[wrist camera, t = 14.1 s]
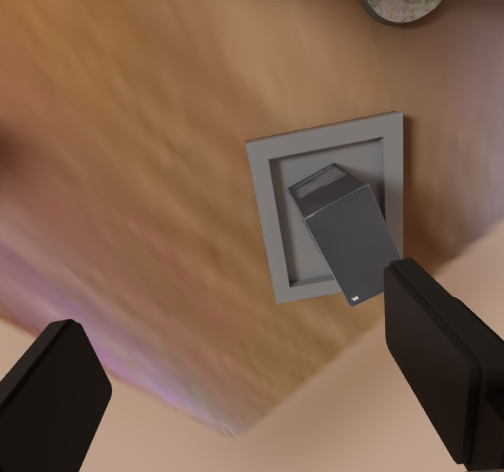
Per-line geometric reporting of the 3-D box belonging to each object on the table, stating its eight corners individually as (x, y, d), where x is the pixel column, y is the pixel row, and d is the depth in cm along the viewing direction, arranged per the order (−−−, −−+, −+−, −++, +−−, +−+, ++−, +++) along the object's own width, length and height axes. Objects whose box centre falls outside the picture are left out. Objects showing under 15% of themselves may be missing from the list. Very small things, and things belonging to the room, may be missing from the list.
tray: (245, 141, 35) (245, 143, 33) (393, 111, 34) (403, 112, 32) (274, 294, 43) (276, 303, 41) (395, 272, 42) (403, 281, 40)
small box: (372, 235, 39) (415, 281, 30) (323, 260, 40) (349, 311, 31) (337, 159, 35) (373, 182, 26) (284, 188, 36) (299, 221, 27)
